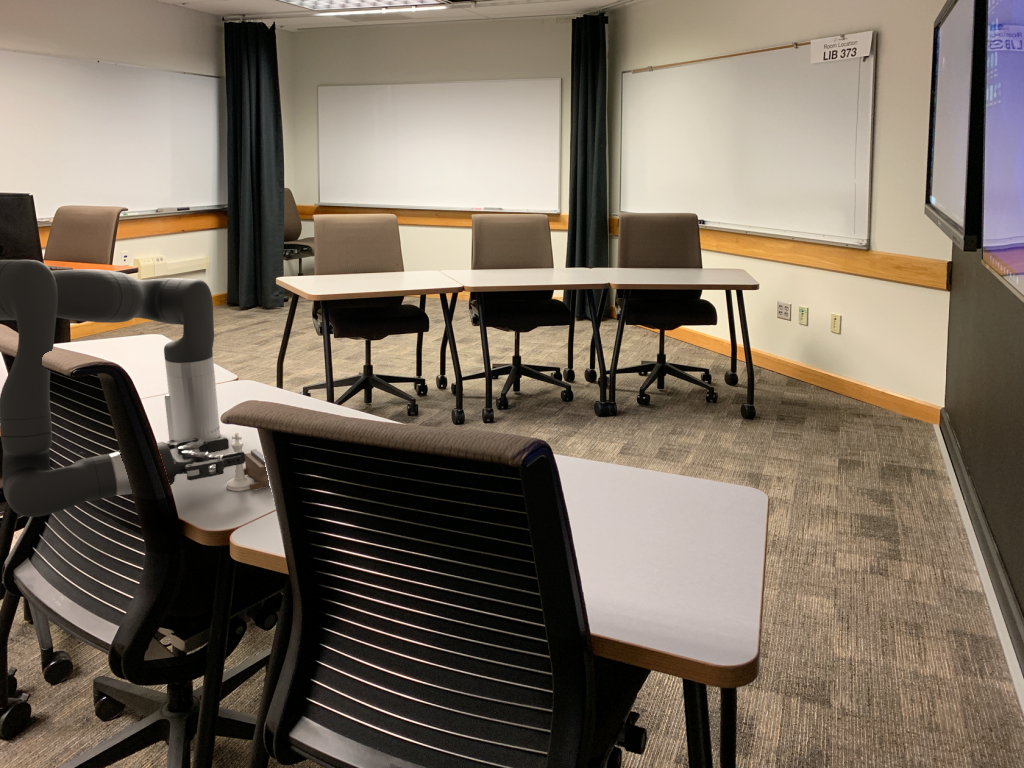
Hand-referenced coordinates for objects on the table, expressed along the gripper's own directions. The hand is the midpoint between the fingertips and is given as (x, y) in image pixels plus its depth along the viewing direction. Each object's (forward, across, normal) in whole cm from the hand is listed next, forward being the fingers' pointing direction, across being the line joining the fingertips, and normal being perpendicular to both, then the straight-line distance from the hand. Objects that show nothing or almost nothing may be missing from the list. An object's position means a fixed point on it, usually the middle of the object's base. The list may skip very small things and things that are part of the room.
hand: (235, 449), depth 157 cm
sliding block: (+3, 0, +7) cm, 8 cm away
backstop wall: (+4, 0, +7) cm, 8 cm away
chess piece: (0, 0, +7) cm, 7 cm away
